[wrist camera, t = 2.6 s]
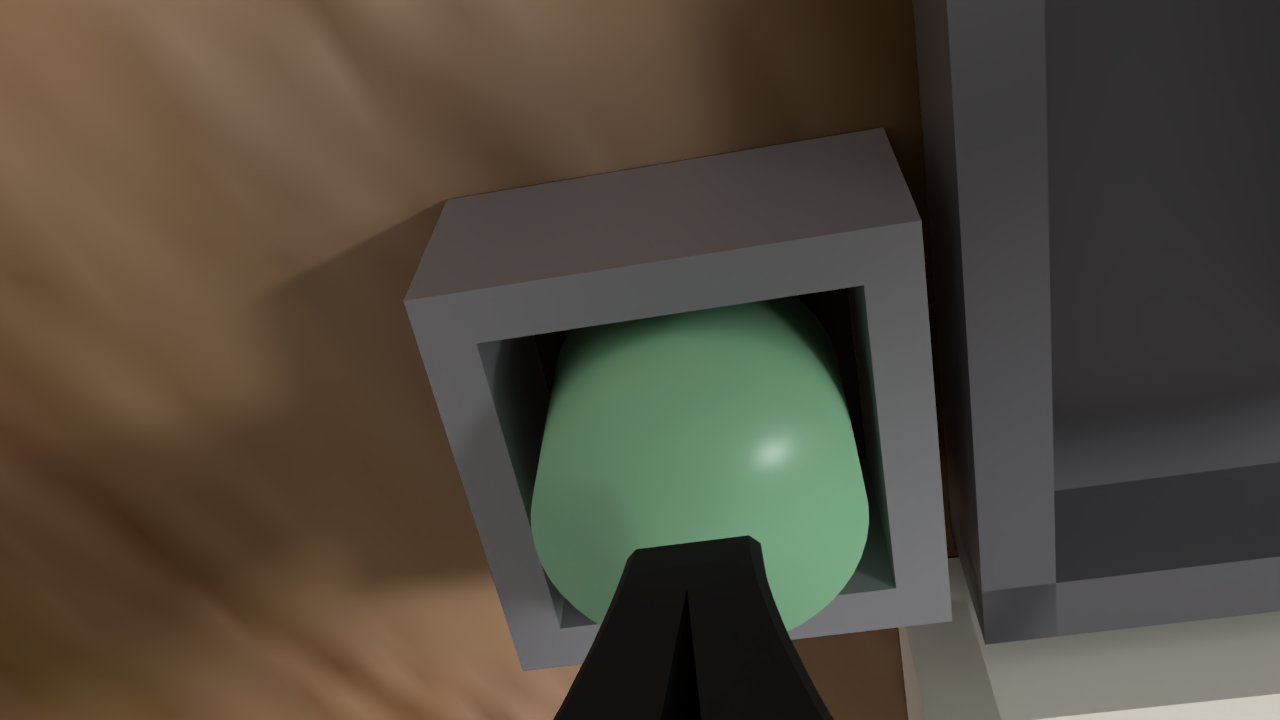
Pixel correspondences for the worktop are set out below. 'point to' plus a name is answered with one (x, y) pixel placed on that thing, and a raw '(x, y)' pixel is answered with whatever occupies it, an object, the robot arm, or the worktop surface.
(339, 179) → the worktop surface
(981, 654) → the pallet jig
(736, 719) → the robot arm
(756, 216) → the button housing
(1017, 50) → the tote
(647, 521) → the button
